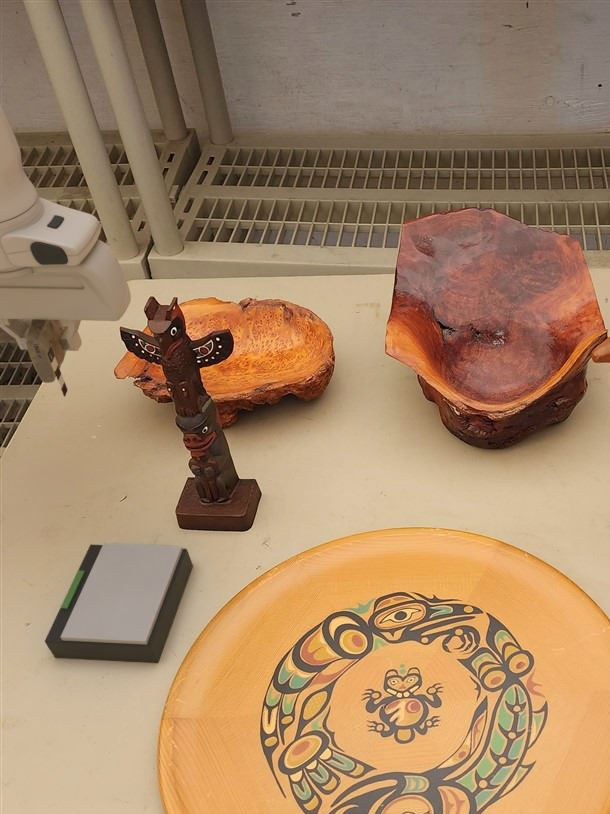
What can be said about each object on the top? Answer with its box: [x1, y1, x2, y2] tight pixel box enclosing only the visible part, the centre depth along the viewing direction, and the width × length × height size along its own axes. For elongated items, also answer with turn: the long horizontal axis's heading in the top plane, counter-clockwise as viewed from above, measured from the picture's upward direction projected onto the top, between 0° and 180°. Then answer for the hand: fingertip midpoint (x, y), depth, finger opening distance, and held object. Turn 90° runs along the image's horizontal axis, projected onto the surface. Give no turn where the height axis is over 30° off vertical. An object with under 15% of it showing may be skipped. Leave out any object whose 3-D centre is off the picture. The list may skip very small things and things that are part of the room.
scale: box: [44, 542, 194, 664], centre depth 92 cm, size 11×13×4 cm
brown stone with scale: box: [26, 319, 68, 397], centre depth 94 cm, size 6×4×12 cm
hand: (52, 347), depth 94 cm, fingers closed on brown stone with scale, 3 cm apart
